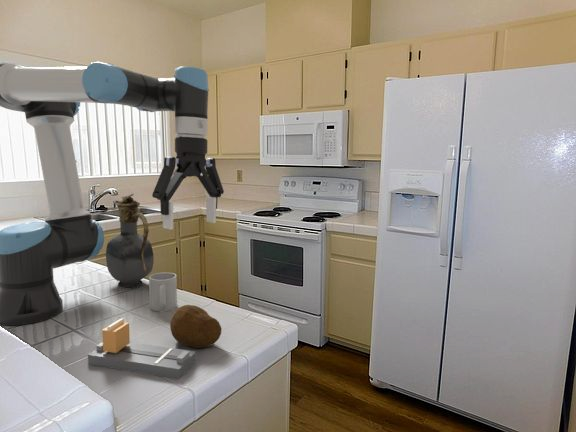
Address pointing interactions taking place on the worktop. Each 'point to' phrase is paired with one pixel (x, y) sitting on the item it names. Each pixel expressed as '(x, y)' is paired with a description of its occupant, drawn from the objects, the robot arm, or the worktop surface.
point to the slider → (116, 336)
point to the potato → (194, 327)
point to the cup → (163, 291)
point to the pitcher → (129, 247)
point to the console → (145, 359)
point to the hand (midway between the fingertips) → (190, 225)
